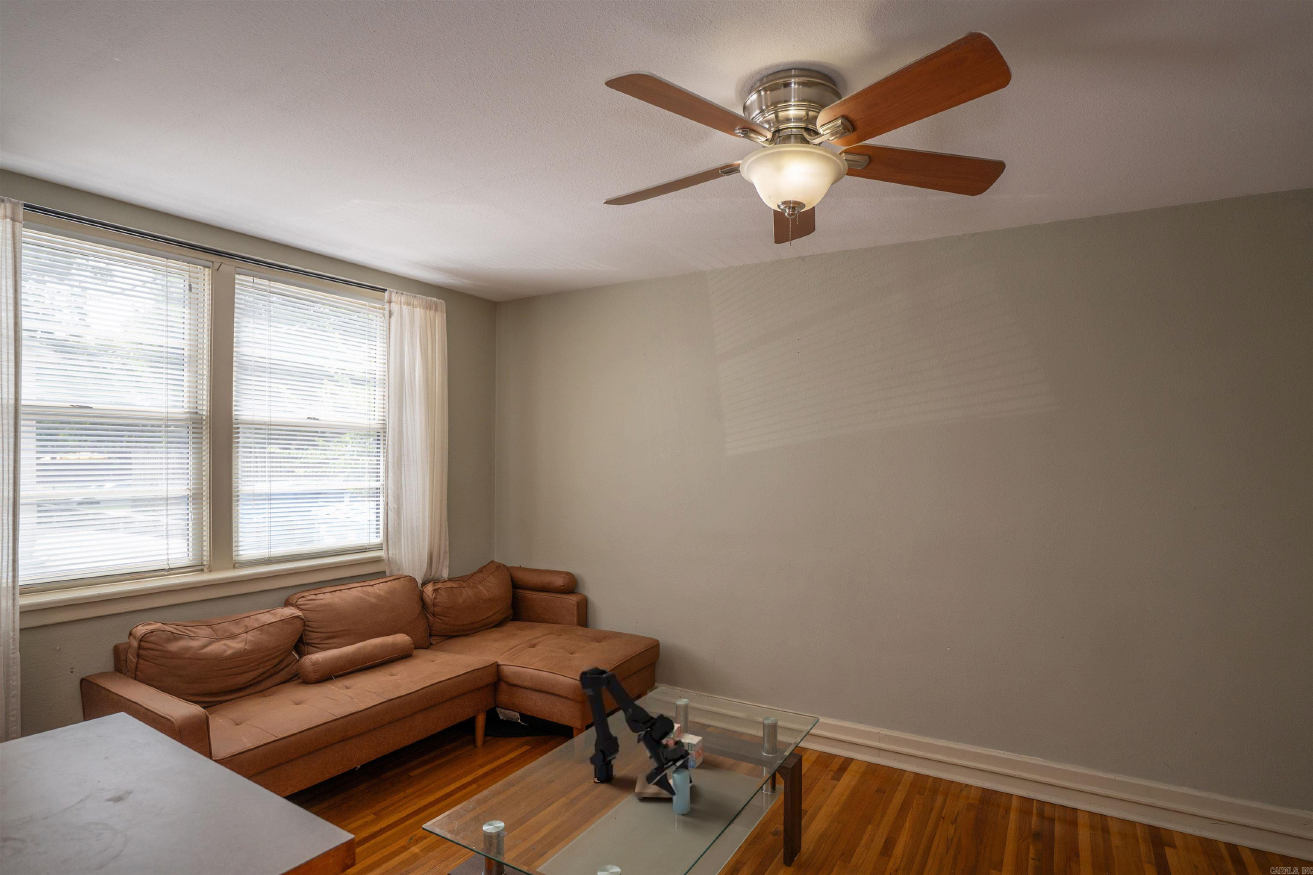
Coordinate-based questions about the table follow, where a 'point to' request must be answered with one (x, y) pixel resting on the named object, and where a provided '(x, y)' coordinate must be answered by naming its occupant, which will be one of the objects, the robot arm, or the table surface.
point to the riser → (650, 788)
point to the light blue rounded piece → (681, 791)
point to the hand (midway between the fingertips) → (683, 789)
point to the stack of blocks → (686, 745)
